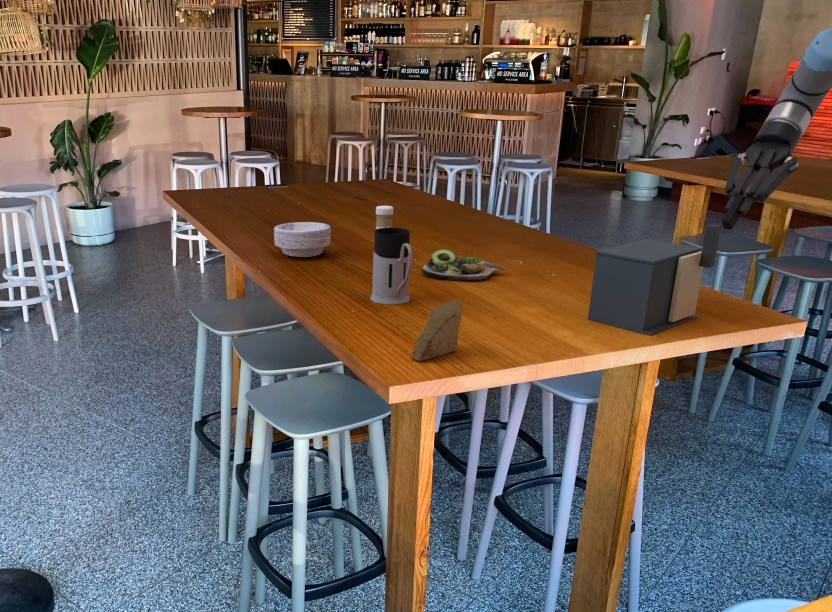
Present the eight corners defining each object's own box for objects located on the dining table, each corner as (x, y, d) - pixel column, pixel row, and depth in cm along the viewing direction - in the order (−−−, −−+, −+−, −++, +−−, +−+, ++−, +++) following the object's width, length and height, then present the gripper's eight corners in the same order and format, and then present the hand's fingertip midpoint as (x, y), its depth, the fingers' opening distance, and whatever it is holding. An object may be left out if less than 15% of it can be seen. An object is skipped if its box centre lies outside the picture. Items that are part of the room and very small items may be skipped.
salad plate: (508, 268, 200) (510, 250, 198) (497, 285, 185) (499, 265, 183) (433, 262, 206) (434, 244, 205) (416, 278, 191) (417, 259, 189)
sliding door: (704, 316, 159) (721, 225, 152) (682, 324, 154) (699, 231, 147) (690, 312, 161) (706, 223, 154) (668, 321, 156) (683, 228, 149)
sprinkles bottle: (394, 256, 213) (396, 206, 208) (387, 259, 209) (388, 208, 204) (379, 254, 215) (380, 204, 210) (371, 258, 211) (372, 207, 206)
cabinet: (696, 317, 161) (709, 249, 155) (650, 335, 150) (662, 263, 145) (635, 303, 170) (645, 238, 165) (587, 319, 160) (596, 250, 155)
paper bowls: (282, 248, 223) (281, 219, 220) (335, 250, 220) (335, 221, 217) (268, 260, 209) (267, 230, 206) (324, 262, 206) (324, 232, 203)
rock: (419, 356, 133) (474, 343, 135) (405, 309, 135) (459, 297, 137) (405, 373, 144) (456, 361, 145) (392, 329, 145) (443, 318, 147)
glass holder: (400, 292, 179) (402, 225, 174) (427, 309, 167) (431, 238, 161) (364, 295, 177) (365, 228, 171) (389, 313, 164) (391, 241, 159)
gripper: (818, 147, 157) (764, 242, 154) (751, 142, 166) (698, 232, 163) (814, 120, 152) (757, 218, 149) (744, 117, 161) (690, 208, 158)
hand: (726, 225), depth 156 cm, fingers closed
